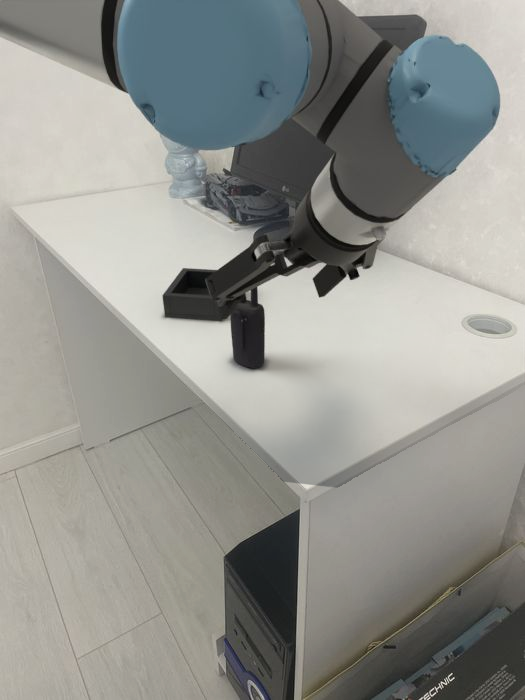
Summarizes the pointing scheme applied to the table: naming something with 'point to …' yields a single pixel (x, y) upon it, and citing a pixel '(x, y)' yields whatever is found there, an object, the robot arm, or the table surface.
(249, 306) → the two-way radio
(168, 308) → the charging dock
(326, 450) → the table surface
